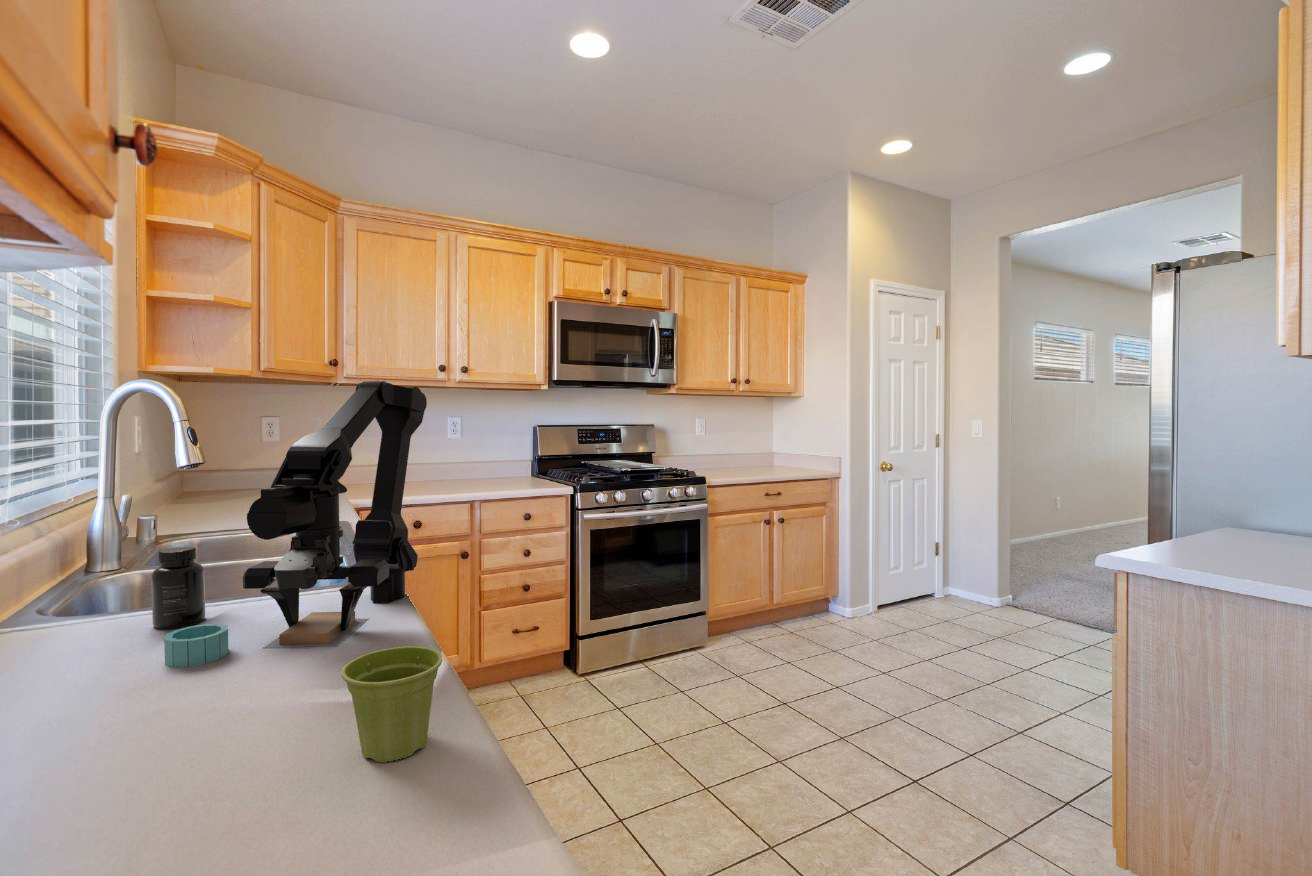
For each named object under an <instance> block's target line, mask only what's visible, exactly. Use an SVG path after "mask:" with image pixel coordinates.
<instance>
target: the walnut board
mask: <svg viewBox="0 0 1312 876" xmlns="http://www.w3.org/2000/svg"><path fill="white" fill-rule="evenodd" d="M355 619H356V611H355V610H354V612H353V615H352V618H351V620H350V623H349V625H348V626H350V625H351V624H352V623H353V622H354V621H355ZM341 632H342V628H341V611H318V612H317V611H315V612H313V611H312V612H310V613H309V614H308V615H306V616H304V617H303V618H302V619H299V621H298V622H297V623H296V624H294V625H293V626H291V627H290V628H289V627H288V628H287V629H286V630H284V631H282V632H281V633H280V634H279V635H278V637H279V645H302V644H328V643H329V642H330V641H332V640H333V639H334V638H335V637H336V636H338V635H339V634H340V633H341Z"/></svg>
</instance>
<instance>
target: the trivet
mask: <svg viewBox="0 0 1312 876" xmlns="http://www.w3.org/2000/svg"><path fill="white" fill-rule="evenodd" d="M368 620H369V618H355V621H354V622H353V623H352V624H351V625H350V626H348V628H347V629H346V630H345V631H342V632H341V633H340V634H339V635H338V636H336V637H335V638H334V639H333V640H332V641H330V642H329V643H328V644H302V645H279V636H278V637H276V638H275V639H274V640H272V641H271V642H269V643H268V644H267V645H265V646H264V647H262V649H287V648H289V649H291V648H322V647H323V648H324V647H325V648H326V647H330V648H331V647H339V646H340V645H341V644H342V643H344V641H345V640H347V639H348V638H349V637H350V636H351V635H352V634H354V633H355V632H356V631H357V630H358V629H360V628H361V627H362V626H363V625H364V624H365V623H366V622H367V621H368Z"/></svg>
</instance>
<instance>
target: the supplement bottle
mask: <svg viewBox="0 0 1312 876" xmlns="http://www.w3.org/2000/svg"><path fill="white" fill-rule="evenodd" d="M197 558H198V556H197V548H196V547H195V546H177V547H170V548H165V549H160V550H159V551H158V560H157V561H158V564H160V566H158V567H156V568H155V569H154V570H153V572H152V573H151V575H150V577H151V578H150V580H151V581H150V582H151V583H150V584H151V609H152V614H151V615H152V625H153V626H154V628H156V629H160V630H171V629H180V628H186V627H190V626H194V625H196V624H198V623H200V622H202V621H203V620H204V619H205V618H206V589H205V588H206V587H205V583H206V582H205V568H204V567H203V565H202V564H201V563H199V562H196V560H197Z"/></svg>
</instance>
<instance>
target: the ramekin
mask: <svg viewBox="0 0 1312 876" xmlns="http://www.w3.org/2000/svg"><path fill="white" fill-rule="evenodd" d="M163 644H164V665H165V666H167V667H171V668H188V667H189V668H190V667H195V666H199V665H204V664H205V665H206V664H209V663H212V662H215V661H217V660H220V659H222V658H224V657H226V656H227V655H229V625H227V624H223V623H204V624H197V625H196V624H195V625H189V626H185V627H181V628H178V629H175V630H172V631H171V632H168V633H167V634H165V636H164V643H163Z"/></svg>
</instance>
